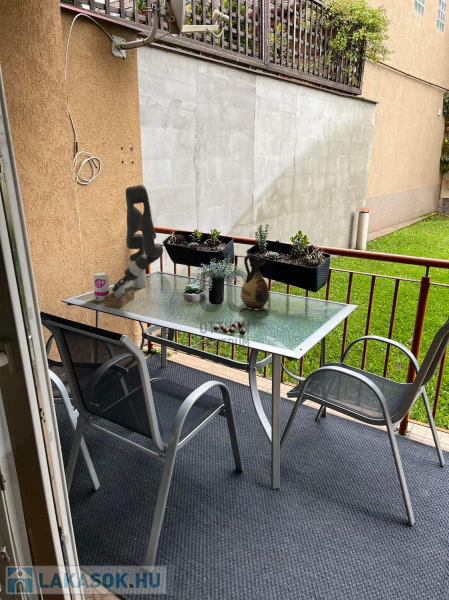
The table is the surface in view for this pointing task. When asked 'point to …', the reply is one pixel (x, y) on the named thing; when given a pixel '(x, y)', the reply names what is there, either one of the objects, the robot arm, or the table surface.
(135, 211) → the robot arm
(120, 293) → the domed pale cylinder
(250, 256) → the ceramic jug
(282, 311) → the table surface
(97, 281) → the supplement can
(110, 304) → the wooden serving tray
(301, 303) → the table surface
